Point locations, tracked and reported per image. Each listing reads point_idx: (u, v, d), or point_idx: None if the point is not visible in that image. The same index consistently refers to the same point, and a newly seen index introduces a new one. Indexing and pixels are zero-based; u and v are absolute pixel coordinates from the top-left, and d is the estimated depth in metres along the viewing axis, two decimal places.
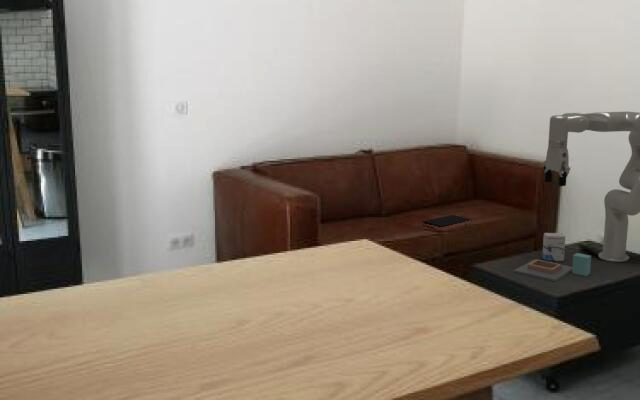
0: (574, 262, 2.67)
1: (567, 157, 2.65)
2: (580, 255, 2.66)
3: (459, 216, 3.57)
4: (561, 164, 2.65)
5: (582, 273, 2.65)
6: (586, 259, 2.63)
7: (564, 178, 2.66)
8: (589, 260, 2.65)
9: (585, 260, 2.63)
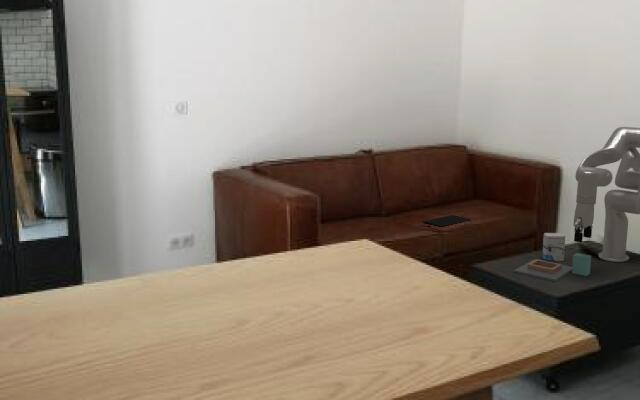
0: (574, 262, 2.67)
1: None
2: (580, 255, 2.66)
3: (458, 216, 3.57)
4: None
5: (582, 273, 2.65)
6: (586, 259, 2.63)
7: None
8: (589, 260, 2.65)
9: (585, 260, 2.63)
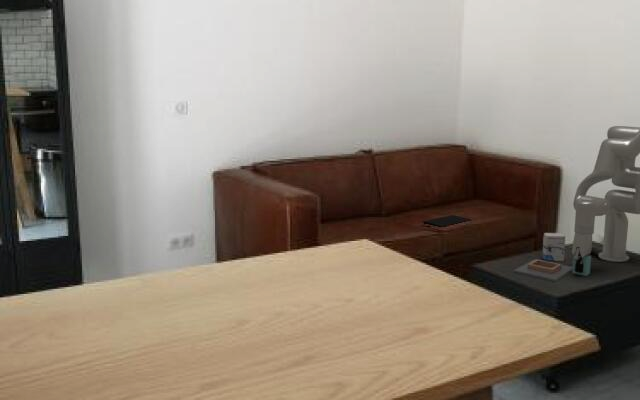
0: (574, 261, 2.67)
1: None
2: (580, 255, 2.66)
3: (458, 216, 3.57)
4: None
5: (582, 273, 2.65)
6: (586, 259, 2.63)
7: None
8: (589, 260, 2.65)
9: (585, 259, 2.63)
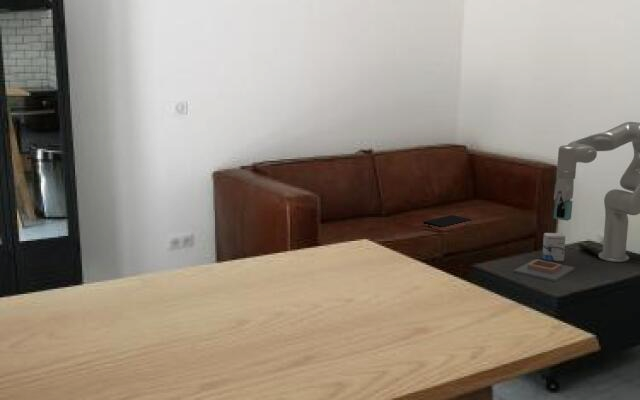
0: (555, 207, 2.71)
1: None
2: None
3: (458, 216, 3.57)
4: None
5: (563, 218, 2.70)
6: (567, 204, 2.68)
7: None
8: (570, 205, 2.70)
9: (566, 204, 2.68)
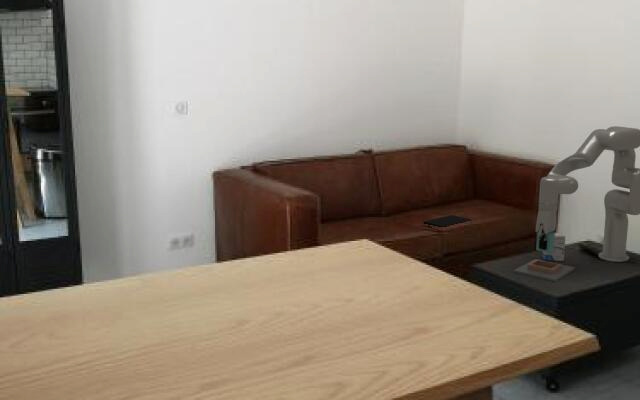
0: (538, 238, 2.69)
1: None
2: None
3: (458, 216, 3.57)
4: None
5: (546, 250, 2.67)
6: (549, 236, 2.65)
7: None
8: (553, 237, 2.67)
9: (548, 236, 2.65)
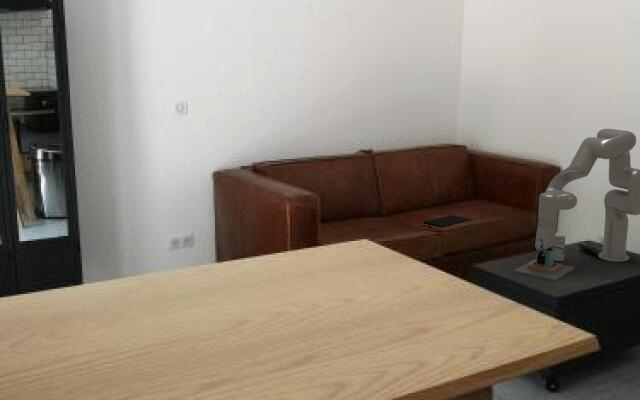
0: None
1: None
2: None
3: (458, 216, 3.57)
4: None
5: None
6: (549, 254, 2.67)
7: None
8: (552, 255, 2.69)
9: (548, 255, 2.67)
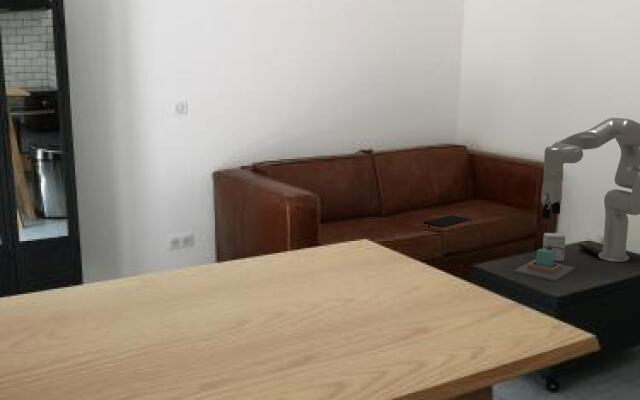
0: (537, 257, 2.71)
1: None
2: (544, 250, 2.70)
3: (459, 217, 3.57)
4: None
5: None
6: (549, 254, 2.67)
7: None
8: (552, 255, 2.69)
9: (548, 255, 2.67)
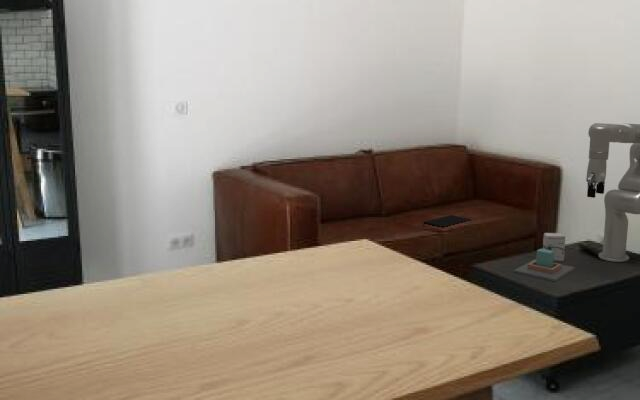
0: (537, 257, 2.71)
1: None
2: (544, 250, 2.70)
3: (457, 216, 3.57)
4: None
5: None
6: (549, 254, 2.67)
7: None
8: (552, 255, 2.69)
9: (548, 255, 2.67)
